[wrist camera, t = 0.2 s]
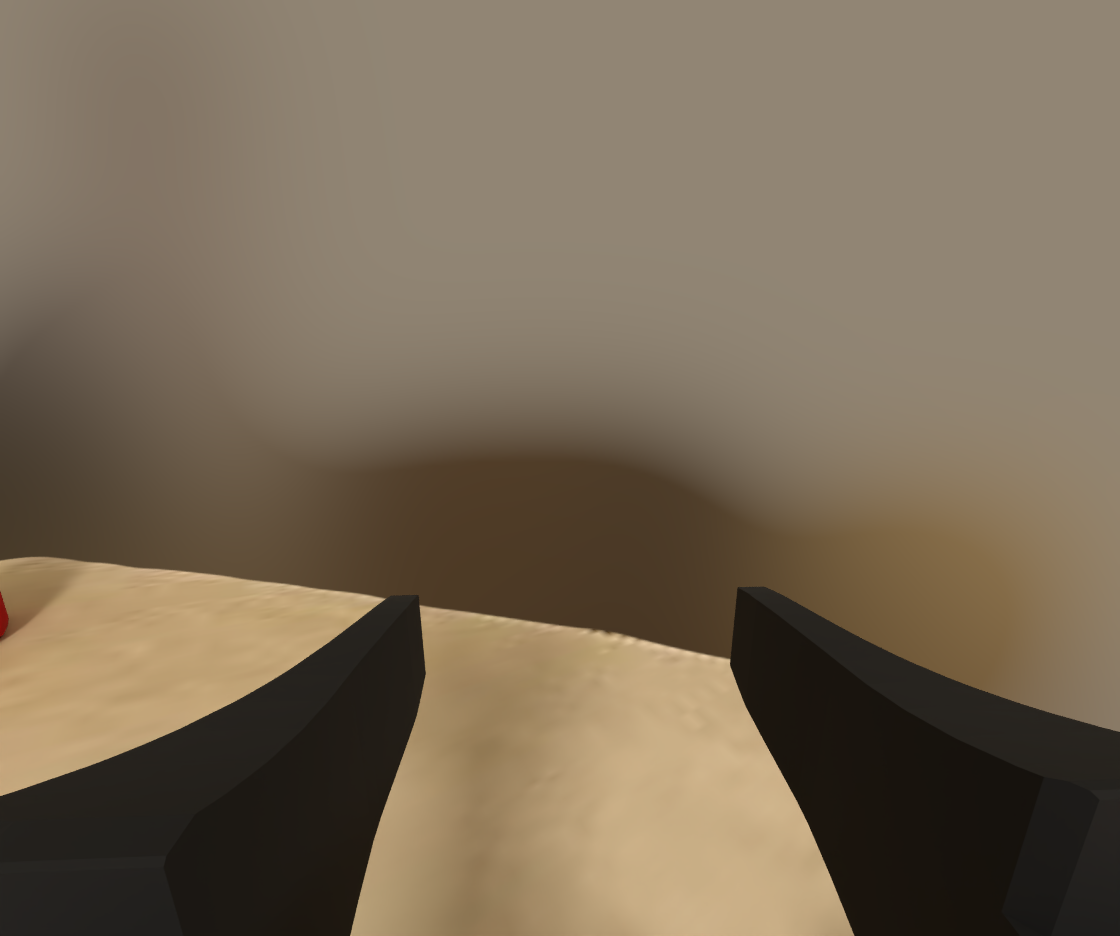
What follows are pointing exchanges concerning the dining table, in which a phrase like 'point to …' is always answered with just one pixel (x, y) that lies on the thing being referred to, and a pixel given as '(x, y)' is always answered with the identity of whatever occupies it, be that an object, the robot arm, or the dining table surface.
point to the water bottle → (3, 617)
